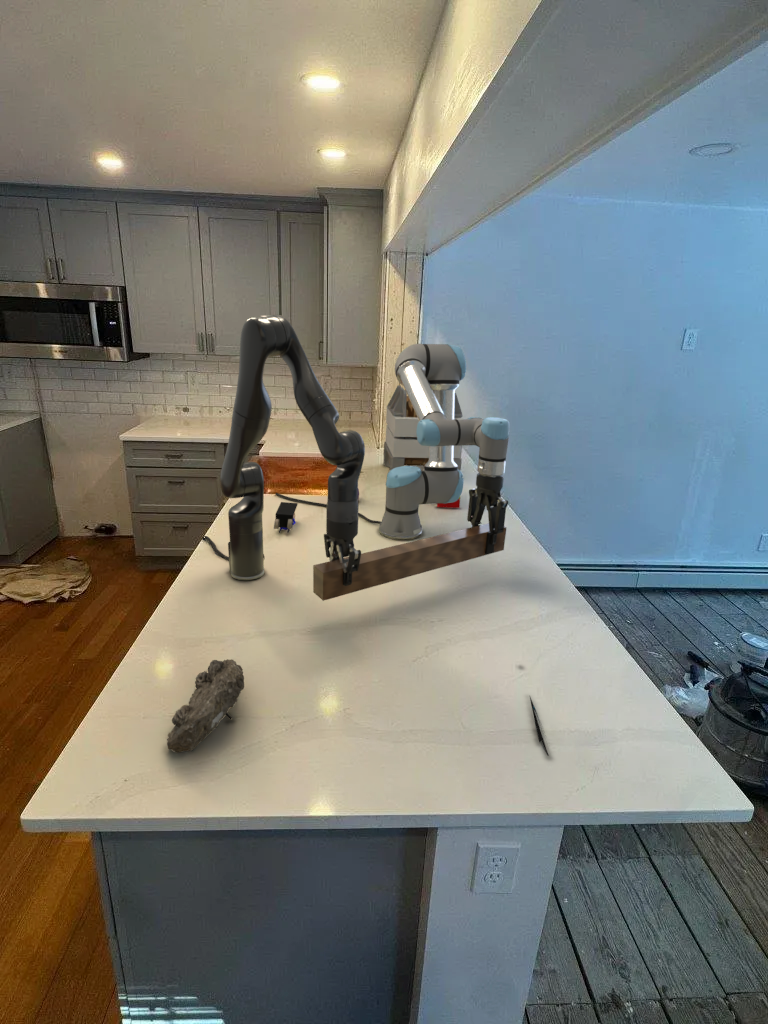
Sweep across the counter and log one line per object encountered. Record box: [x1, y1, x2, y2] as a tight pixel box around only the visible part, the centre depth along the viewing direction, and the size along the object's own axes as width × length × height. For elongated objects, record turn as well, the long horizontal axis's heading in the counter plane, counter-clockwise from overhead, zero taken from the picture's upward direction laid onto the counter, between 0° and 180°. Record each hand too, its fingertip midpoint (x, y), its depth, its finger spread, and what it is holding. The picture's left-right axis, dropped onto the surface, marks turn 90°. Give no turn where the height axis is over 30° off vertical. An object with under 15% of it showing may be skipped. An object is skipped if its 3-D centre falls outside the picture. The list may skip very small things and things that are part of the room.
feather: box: [529, 696, 549, 756], centre depth 114 cm, size 2×28×2 cm
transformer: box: [383, 384, 463, 472], centre depth 268 cm, size 34×33×41 cm
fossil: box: [166, 658, 245, 754], centre depth 106 cm, size 22×10×15 cm
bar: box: [312, 522, 507, 602], centre depth 153 cm, size 61×5×7 cm, turn 125°
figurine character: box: [273, 501, 298, 534], centre depth 199 cm, size 7×8×15 cm
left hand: (341, 580), depth 140 cm, fingers closed on bar, 5 cm apart
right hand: (482, 549), depth 167 cm, fingers closed on bar, 5 cm apart
